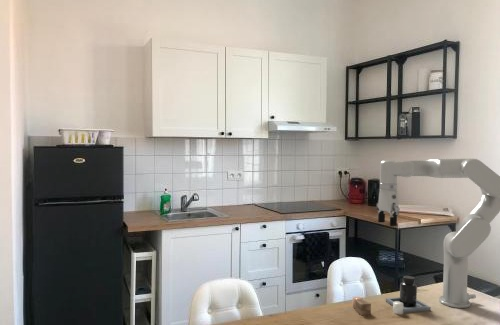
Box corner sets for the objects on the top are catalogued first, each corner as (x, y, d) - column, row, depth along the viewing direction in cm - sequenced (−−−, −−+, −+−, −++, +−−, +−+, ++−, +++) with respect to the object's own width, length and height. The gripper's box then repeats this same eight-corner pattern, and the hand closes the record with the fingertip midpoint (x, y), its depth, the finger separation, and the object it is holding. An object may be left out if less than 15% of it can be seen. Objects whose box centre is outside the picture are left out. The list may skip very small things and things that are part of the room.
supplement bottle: (417, 308, 172) (418, 280, 171) (400, 306, 173) (401, 279, 173) (414, 302, 178) (415, 275, 178) (398, 301, 180) (399, 274, 179)
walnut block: (365, 310, 170) (365, 299, 170) (370, 314, 166) (370, 303, 166) (355, 311, 169) (355, 300, 169) (360, 315, 165) (360, 304, 165)
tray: (411, 299, 183) (411, 296, 183) (430, 310, 171) (430, 307, 171) (385, 301, 180) (385, 298, 180) (403, 312, 168) (403, 309, 168)
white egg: (399, 310, 170) (399, 301, 170) (405, 314, 166) (405, 304, 166) (391, 311, 169) (391, 301, 169) (396, 314, 166) (396, 305, 166)
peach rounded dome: (359, 305, 175) (359, 296, 175) (364, 309, 171) (364, 299, 171) (351, 306, 174) (351, 297, 174) (355, 309, 170) (355, 300, 170)
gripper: (406, 188, 180) (405, 227, 180) (385, 185, 197) (384, 220, 197) (391, 189, 178) (390, 227, 179) (371, 185, 195) (370, 221, 196)
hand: (387, 224), depth 188 cm, fingers open, 9 cm apart
